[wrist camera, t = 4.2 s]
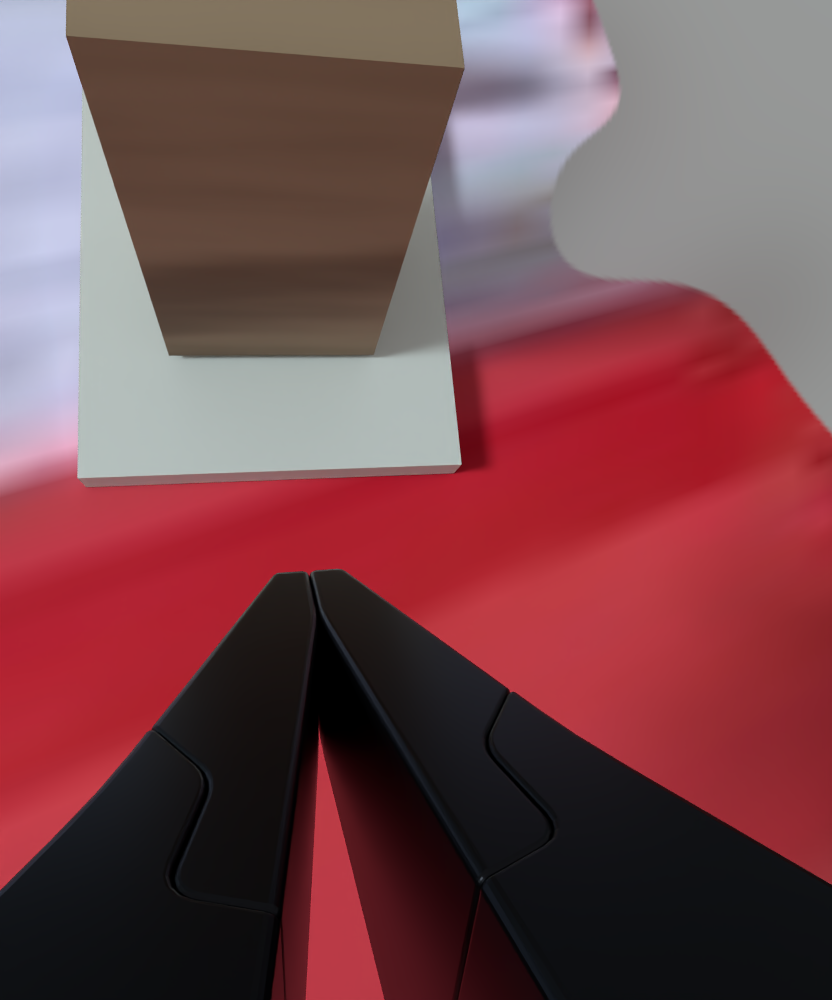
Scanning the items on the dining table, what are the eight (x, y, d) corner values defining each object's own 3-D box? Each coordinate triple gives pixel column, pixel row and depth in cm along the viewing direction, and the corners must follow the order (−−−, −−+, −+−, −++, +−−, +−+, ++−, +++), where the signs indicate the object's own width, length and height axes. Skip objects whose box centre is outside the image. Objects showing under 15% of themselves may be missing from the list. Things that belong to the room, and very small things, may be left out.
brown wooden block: (373, 355, 22) (464, 68, 12) (169, 355, 21) (65, 36, 10) (361, 211, 23) (435, -170, 13) (166, 203, 22) (70, -225, 12)
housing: (453, 473, 23) (513, 406, 17) (86, 487, 21) (16, 416, 15) (413, 89, 26) (452, -73, 21) (90, 66, 24) (34, -124, 18)
